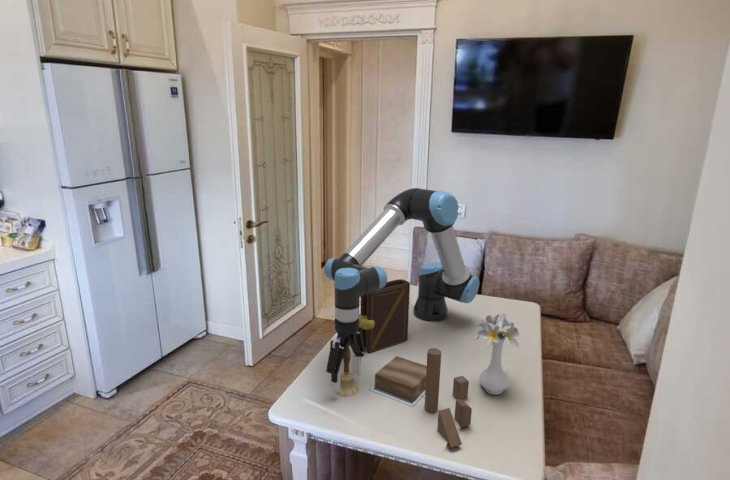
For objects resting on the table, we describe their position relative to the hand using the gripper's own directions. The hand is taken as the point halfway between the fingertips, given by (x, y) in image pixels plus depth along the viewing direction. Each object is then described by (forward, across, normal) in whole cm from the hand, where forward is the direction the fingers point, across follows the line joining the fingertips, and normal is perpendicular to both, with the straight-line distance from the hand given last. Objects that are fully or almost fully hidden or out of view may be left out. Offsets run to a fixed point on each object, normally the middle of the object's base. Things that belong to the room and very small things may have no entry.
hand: (346, 381), depth 143 cm
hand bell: (+4, 0, 0) cm, 4 cm away
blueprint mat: (+3, -13, +14) cm, 19 cm away
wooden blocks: (+4, -7, +35) cm, 36 cm away
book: (+4, -32, -6) cm, 33 cm away
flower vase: (+4, -28, +38) cm, 48 cm away
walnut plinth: (+3, -13, +14) cm, 19 cm away
